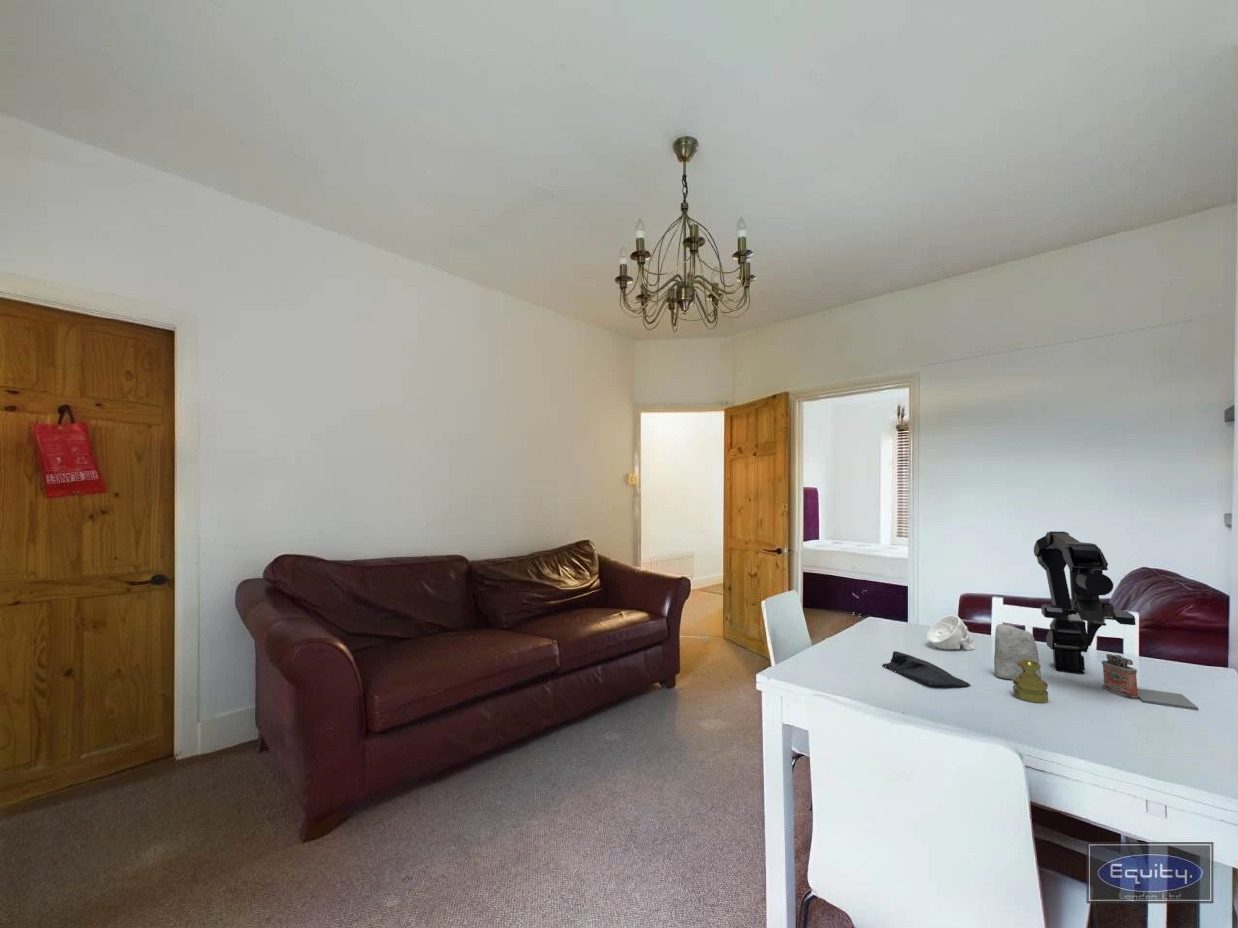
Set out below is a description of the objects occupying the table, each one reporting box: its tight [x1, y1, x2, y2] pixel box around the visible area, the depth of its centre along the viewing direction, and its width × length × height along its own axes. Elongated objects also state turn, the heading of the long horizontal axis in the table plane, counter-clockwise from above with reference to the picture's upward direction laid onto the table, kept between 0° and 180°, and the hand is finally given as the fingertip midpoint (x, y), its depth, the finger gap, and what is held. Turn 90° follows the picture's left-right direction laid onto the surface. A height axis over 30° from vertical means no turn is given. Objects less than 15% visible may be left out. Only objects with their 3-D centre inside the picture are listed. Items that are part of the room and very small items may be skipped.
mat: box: [1137, 687, 1199, 711], centre depth 134 cm, size 10×10×1 cm
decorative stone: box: [993, 623, 1042, 680], centre depth 151 cm, size 11×6×15 cm, turn 65°
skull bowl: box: [926, 614, 976, 651], centre depth 180 cm, size 10×14×12 cm
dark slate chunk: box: [882, 651, 972, 688], centre depth 154 cm, size 15×22×5 cm
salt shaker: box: [1011, 659, 1049, 704], centre depth 137 cm, size 7×7×10 cm
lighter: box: [1101, 653, 1140, 701], centre depth 138 cm, size 8×3×10 cm, turn 5°
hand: (1088, 645), depth 142 cm, fingers closed
